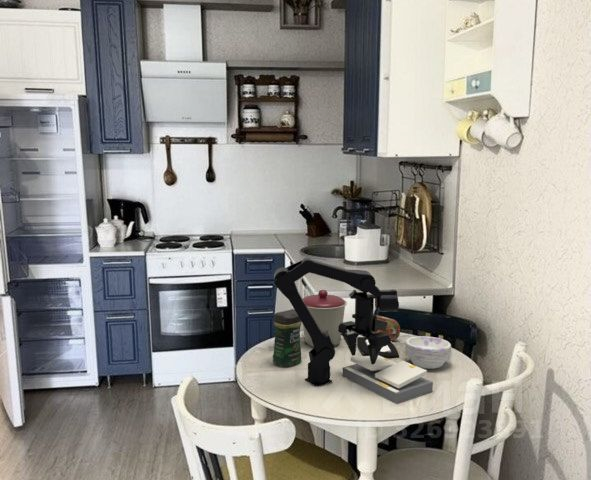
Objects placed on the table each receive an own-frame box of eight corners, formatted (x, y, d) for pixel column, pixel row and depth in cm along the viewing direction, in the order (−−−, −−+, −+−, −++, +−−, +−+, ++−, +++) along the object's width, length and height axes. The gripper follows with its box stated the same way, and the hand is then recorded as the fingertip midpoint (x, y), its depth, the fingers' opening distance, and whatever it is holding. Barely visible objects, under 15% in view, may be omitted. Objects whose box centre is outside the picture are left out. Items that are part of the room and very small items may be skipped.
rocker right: (398, 388, 160) (398, 384, 160) (375, 377, 168) (374, 373, 168) (427, 374, 167) (426, 370, 166) (403, 364, 175) (402, 360, 175)
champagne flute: (288, 352, 200) (288, 288, 197) (271, 350, 203) (271, 286, 199) (295, 346, 206) (295, 284, 203) (279, 344, 209) (279, 282, 206)
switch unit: (396, 403, 158) (397, 390, 158) (342, 376, 178) (342, 364, 178) (432, 391, 167) (432, 378, 166) (376, 366, 187) (377, 355, 186)
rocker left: (371, 370, 169) (372, 366, 169) (350, 361, 177) (350, 356, 177) (399, 367, 176) (399, 363, 176) (377, 358, 184) (378, 354, 184)
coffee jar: (285, 369, 184) (285, 315, 181) (269, 363, 190) (269, 311, 187) (305, 362, 191) (305, 310, 188) (290, 356, 196) (290, 306, 194)
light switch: (402, 354, 194) (363, 351, 194) (401, 362, 195) (362, 359, 194) (390, 336, 214) (355, 333, 213) (389, 343, 214) (354, 340, 213)
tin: (366, 334, 222) (366, 314, 220) (371, 332, 224) (371, 312, 223) (396, 343, 211) (396, 322, 209) (401, 341, 213) (401, 320, 212)
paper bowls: (444, 356, 197) (445, 335, 195) (455, 372, 182) (456, 349, 180) (401, 356, 197) (402, 334, 196) (408, 372, 182) (409, 349, 181)
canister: (289, 343, 210) (288, 289, 207) (322, 333, 222) (322, 282, 219) (322, 355, 197) (323, 298, 194) (356, 344, 209) (357, 290, 206)
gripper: (404, 314, 168) (402, 363, 171) (363, 301, 184) (362, 346, 186) (377, 320, 162) (376, 371, 164) (337, 306, 177) (336, 353, 180)
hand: (363, 359), depth 174 cm, fingers open, 9 cm apart
